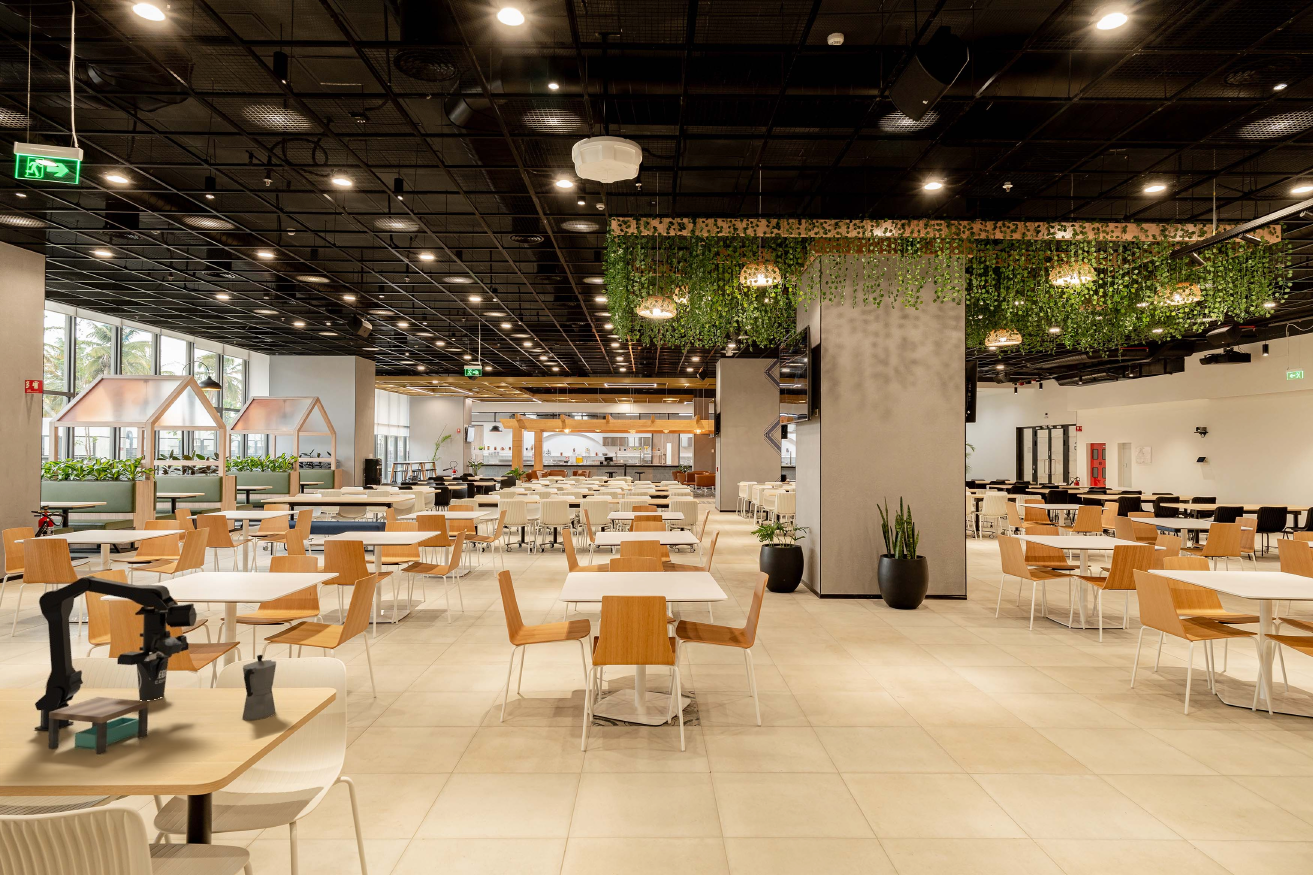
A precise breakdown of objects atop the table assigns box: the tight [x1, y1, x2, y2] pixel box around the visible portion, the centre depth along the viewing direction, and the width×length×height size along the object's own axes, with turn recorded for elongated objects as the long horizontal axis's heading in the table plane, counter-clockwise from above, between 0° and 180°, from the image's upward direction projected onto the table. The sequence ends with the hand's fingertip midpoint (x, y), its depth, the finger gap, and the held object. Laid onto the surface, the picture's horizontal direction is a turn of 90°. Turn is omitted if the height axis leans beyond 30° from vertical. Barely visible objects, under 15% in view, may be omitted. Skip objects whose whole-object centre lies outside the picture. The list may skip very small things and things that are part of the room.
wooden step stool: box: [47, 696, 149, 755], centre depth 194 cm, size 18×13×10 cm
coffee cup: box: [136, 653, 169, 701], centre depth 231 cm, size 10×10×15 cm
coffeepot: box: [242, 654, 277, 721], centre depth 213 cm, size 15×9×18 cm, turn 6°
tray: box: [74, 716, 138, 750], centre depth 196 cm, size 7×13×4 cm, turn 165°
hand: (153, 680), depth 213 cm, fingers closed
